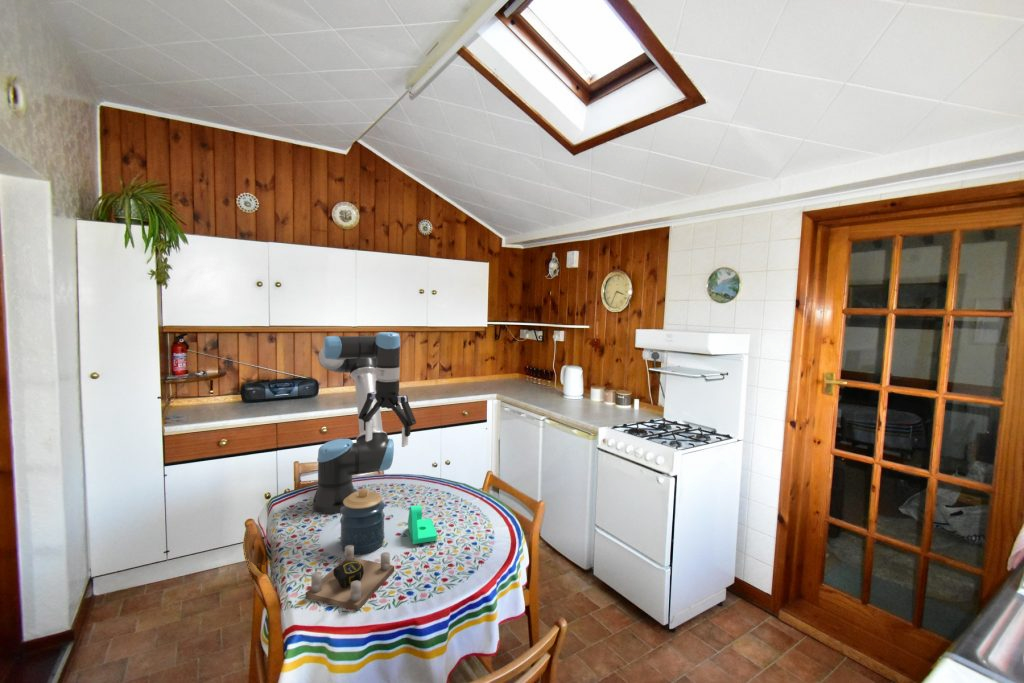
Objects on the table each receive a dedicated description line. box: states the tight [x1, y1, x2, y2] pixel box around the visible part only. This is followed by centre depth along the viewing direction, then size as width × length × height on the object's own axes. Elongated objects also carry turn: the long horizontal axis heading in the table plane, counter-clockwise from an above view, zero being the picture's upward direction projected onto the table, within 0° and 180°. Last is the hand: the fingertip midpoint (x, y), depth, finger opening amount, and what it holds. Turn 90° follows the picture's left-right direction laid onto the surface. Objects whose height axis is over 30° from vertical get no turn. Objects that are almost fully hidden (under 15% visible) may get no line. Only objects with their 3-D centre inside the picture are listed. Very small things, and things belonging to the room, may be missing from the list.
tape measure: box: [332, 561, 364, 588], centre depth 116 cm, size 7×7×4 cm
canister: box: [339, 487, 386, 555], centre depth 136 cm, size 13×13×18 cm
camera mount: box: [407, 504, 438, 545], centre depth 142 cm, size 12×8×10 cm, turn 21°
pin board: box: [305, 545, 395, 612], centre depth 117 cm, size 15×17×6 cm
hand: (386, 443), depth 146 cm, fingers open, 13 cm apart
